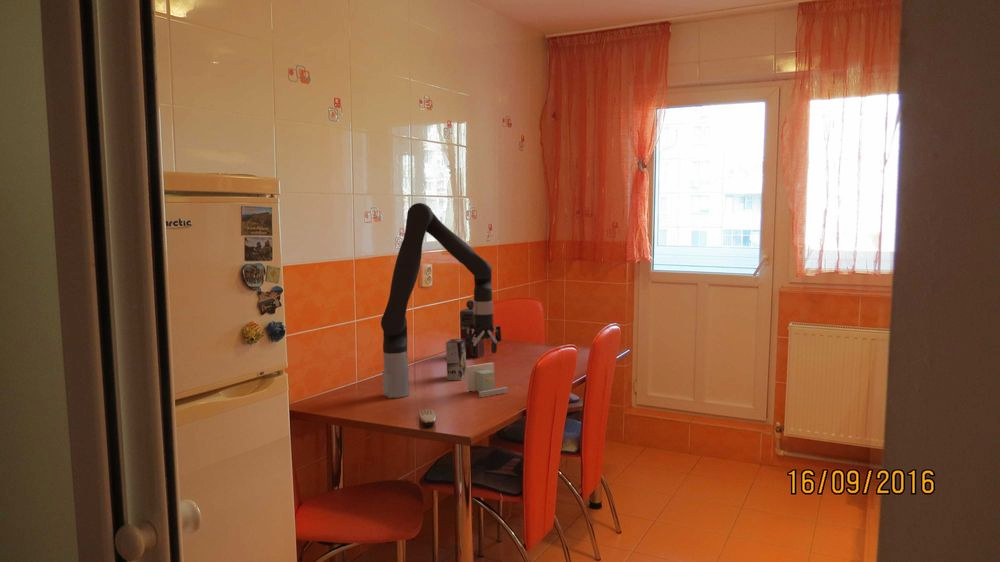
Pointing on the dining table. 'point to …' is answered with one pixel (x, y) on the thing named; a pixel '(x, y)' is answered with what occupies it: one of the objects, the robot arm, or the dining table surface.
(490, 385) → the cabinet block
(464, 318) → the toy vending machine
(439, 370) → the dining table surface
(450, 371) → the coffee box
